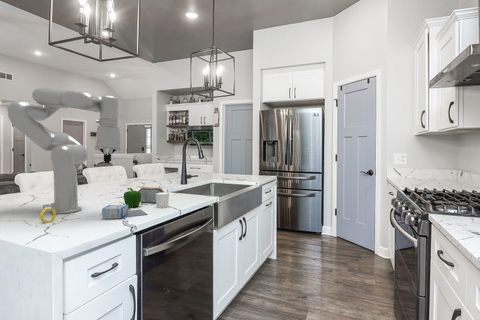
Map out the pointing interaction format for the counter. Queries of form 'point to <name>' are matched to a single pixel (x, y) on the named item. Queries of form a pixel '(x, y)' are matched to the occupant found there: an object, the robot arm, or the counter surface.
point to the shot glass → (162, 199)
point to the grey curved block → (149, 194)
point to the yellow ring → (43, 213)
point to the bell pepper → (132, 198)
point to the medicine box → (114, 211)
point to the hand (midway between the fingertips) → (107, 162)
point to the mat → (134, 213)
